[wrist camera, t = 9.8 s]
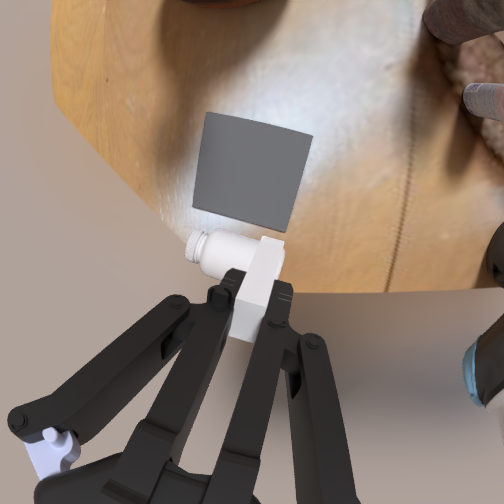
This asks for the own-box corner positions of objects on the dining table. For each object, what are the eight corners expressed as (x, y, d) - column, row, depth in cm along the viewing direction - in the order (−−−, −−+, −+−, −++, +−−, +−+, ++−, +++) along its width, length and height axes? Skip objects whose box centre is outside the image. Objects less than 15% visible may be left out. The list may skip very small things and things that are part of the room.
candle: (439, -3, 19) (503, -44, 2) (471, 33, 21) (548, 15, 4) (413, 15, 23) (475, -29, 6) (446, 53, 25) (526, 37, 8)
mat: (313, 135, 37) (313, 136, 37) (285, 231, 45) (285, 232, 45) (207, 111, 38) (206, 112, 38) (192, 205, 46) (192, 206, 46)
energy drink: (490, 113, 27) (535, 124, 17) (467, 118, 29) (511, 129, 19) (481, 81, 25) (526, 83, 15) (457, 85, 27) (501, 85, 17)
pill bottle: (289, 245, 41) (193, 216, 42) (273, 298, 41) (176, 267, 41) (283, 251, 49) (202, 226, 50) (270, 295, 48) (188, 269, 49)
